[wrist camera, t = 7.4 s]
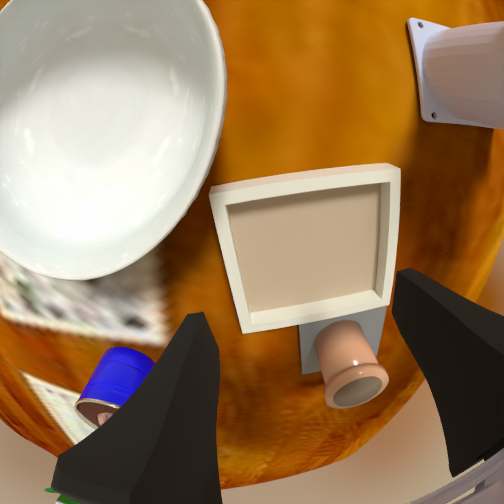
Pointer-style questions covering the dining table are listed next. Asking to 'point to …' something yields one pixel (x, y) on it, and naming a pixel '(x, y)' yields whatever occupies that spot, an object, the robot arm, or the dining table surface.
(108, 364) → the hyacinth
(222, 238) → the square beige tray
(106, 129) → the cereal bowl
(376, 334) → the coaster
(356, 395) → the pot
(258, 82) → the dining table surface
